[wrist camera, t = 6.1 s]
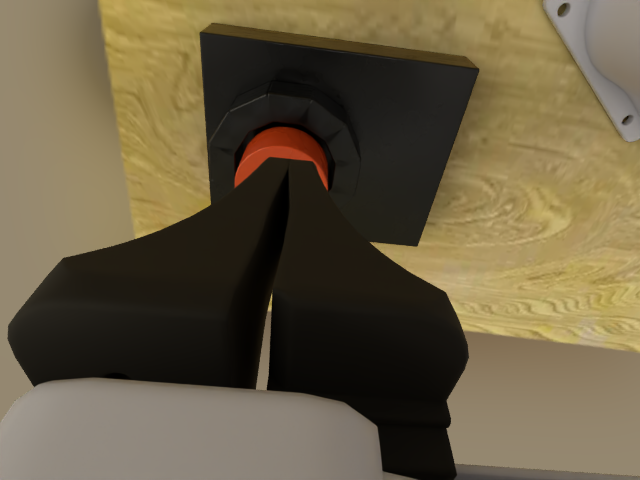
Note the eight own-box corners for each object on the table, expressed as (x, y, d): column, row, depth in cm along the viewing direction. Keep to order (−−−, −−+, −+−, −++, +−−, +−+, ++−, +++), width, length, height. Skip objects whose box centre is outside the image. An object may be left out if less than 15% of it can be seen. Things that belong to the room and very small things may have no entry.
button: (333, 131, 17) (334, 152, 16) (322, 207, 20) (321, 231, 18) (242, 120, 17) (233, 140, 15) (242, 198, 19) (235, 222, 18)
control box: (466, 56, 18) (494, 81, 15) (411, 225, 25) (423, 267, 21) (211, 22, 18) (186, 41, 15) (220, 205, 24) (204, 245, 21)
